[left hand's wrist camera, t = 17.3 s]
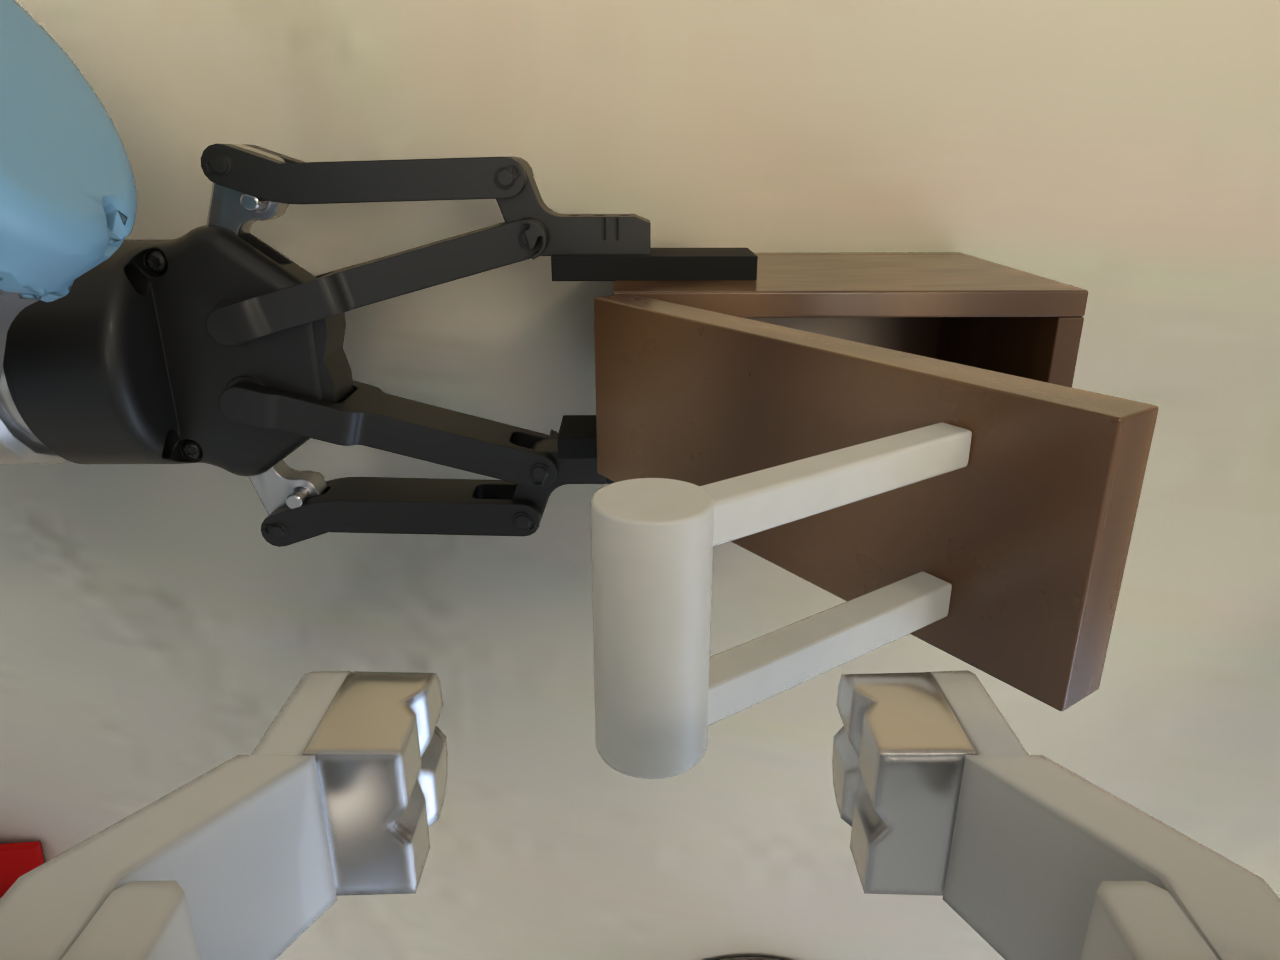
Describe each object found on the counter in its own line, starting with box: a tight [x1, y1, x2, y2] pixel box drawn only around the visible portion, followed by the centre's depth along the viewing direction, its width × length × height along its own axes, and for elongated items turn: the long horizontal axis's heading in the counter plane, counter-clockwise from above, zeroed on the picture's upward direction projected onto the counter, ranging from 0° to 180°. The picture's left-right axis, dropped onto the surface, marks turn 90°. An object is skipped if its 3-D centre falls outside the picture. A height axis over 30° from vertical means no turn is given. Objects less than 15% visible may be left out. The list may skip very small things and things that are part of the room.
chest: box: [612, 253, 1088, 388], centre depth 31 cm, size 14×5×11 cm, turn 90°
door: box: [591, 294, 1158, 779], centre depth 18 cm, size 15×5×9 cm
